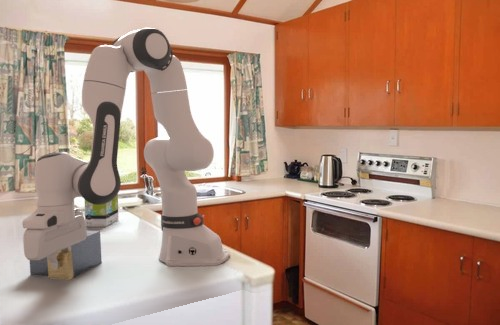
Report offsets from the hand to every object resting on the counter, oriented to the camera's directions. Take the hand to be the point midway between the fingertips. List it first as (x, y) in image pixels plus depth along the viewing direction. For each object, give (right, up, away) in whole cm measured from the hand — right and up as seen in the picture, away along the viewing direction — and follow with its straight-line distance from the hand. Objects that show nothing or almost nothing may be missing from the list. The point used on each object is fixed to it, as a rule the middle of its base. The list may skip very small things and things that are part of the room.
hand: (60, 266), depth 110 cm
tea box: (-17, 0, +78) cm, 80 cm away
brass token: (0, -3, 0) cm, 3 cm away
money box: (-5, -5, +15) cm, 17 cm away
